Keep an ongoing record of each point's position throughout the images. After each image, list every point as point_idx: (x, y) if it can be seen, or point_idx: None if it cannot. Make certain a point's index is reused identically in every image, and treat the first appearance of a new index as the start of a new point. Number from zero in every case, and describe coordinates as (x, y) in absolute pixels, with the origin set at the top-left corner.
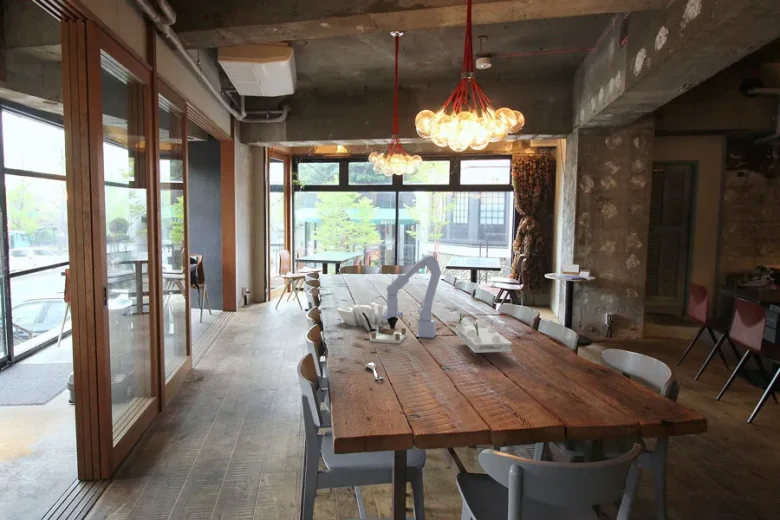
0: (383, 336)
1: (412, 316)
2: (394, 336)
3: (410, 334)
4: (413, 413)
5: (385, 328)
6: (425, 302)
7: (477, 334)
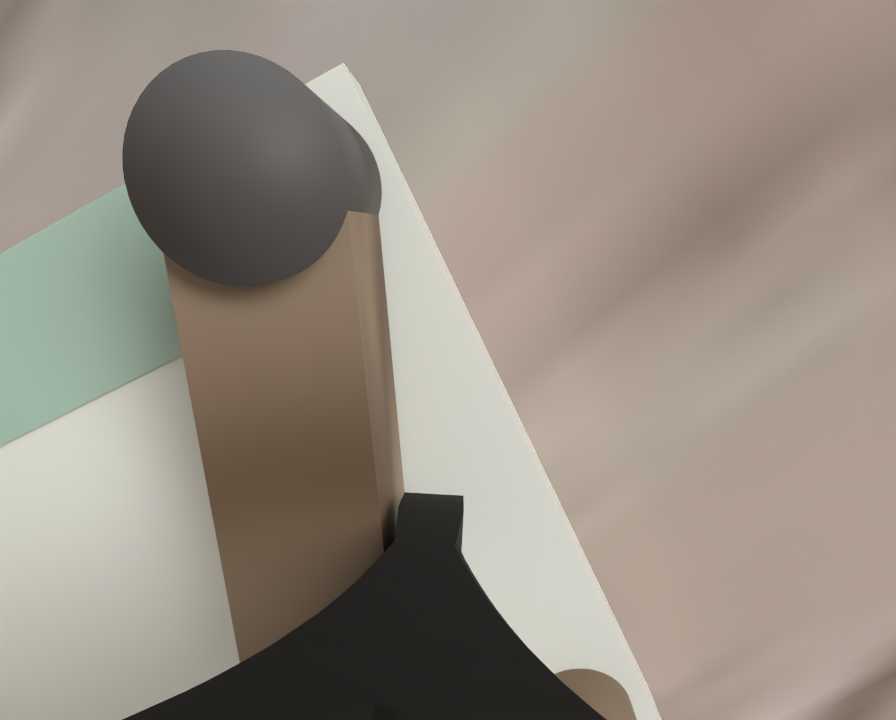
0: (58, 542)
1: None
2: None
3: (800, 665)
4: None
5: (208, 469)
6: None
7: None
